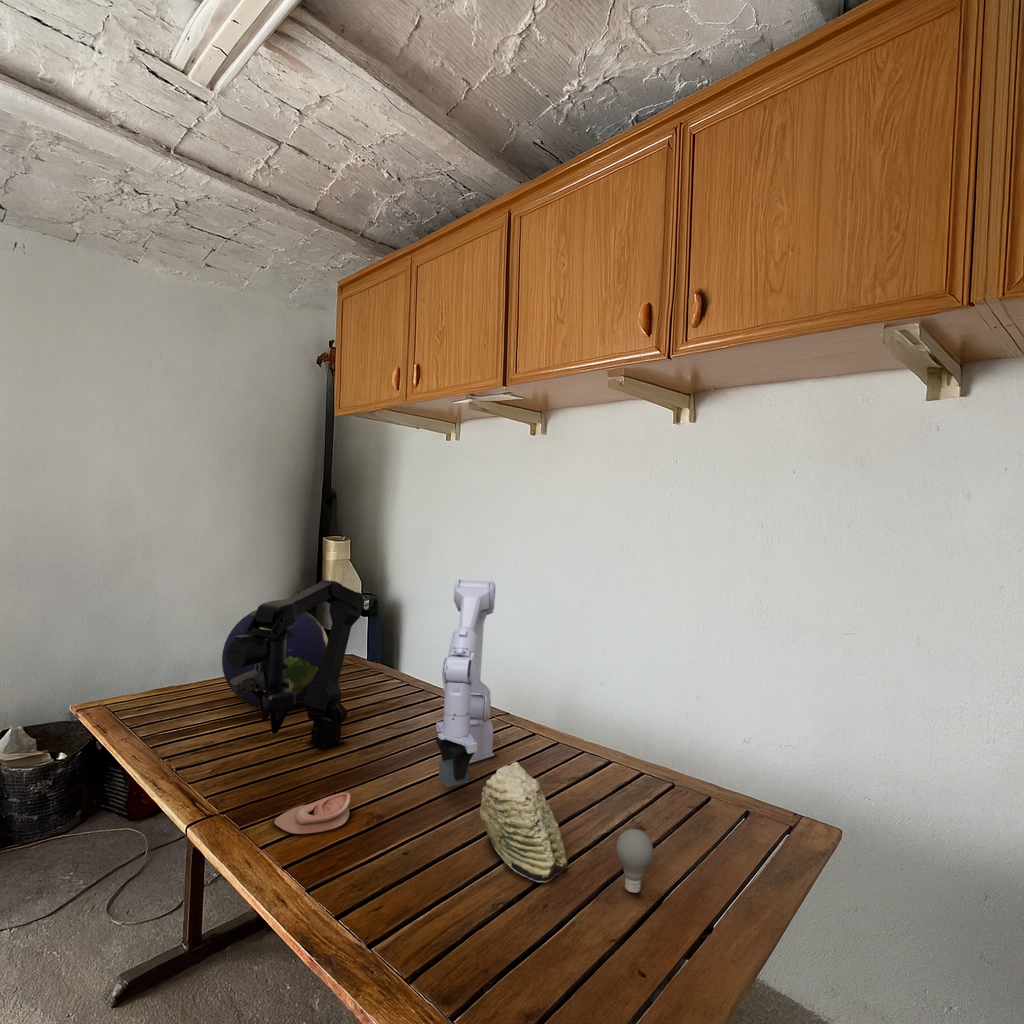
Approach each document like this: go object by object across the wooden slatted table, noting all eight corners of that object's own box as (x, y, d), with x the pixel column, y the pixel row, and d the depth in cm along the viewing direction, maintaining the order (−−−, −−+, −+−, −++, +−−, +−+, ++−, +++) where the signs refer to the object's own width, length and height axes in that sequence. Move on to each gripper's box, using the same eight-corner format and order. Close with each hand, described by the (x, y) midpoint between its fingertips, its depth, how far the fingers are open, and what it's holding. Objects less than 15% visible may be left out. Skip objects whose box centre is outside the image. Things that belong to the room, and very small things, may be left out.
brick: (438, 780, 137) (439, 761, 137) (459, 775, 140) (460, 757, 139) (447, 787, 133) (448, 768, 133) (468, 782, 136) (469, 763, 136)
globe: (289, 685, 209) (292, 594, 208) (348, 705, 191) (352, 606, 191) (199, 706, 185) (203, 604, 184) (258, 732, 167) (262, 619, 167)
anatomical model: (265, 808, 120) (298, 782, 131) (265, 829, 120) (297, 801, 131) (330, 818, 117) (357, 791, 128) (329, 840, 117) (357, 810, 128)
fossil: (501, 827, 124) (504, 751, 124) (575, 868, 111) (578, 784, 111) (467, 843, 118) (470, 763, 118) (541, 889, 105) (545, 799, 105)
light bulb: (610, 879, 108) (613, 822, 108) (644, 879, 109) (647, 822, 109) (619, 902, 102) (622, 840, 102) (655, 901, 103) (658, 840, 103)
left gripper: (226, 653, 148) (223, 719, 148) (243, 673, 132) (240, 747, 133) (275, 648, 154) (273, 712, 154) (297, 667, 139) (294, 737, 139)
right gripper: (425, 704, 140) (422, 765, 140) (457, 725, 128) (454, 792, 128) (453, 700, 144) (450, 759, 144) (486, 720, 132) (483, 784, 132)
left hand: (269, 726), depth 145 cm, fingers open, 9 cm apart
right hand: (454, 774), depth 136 cm, fingers closed on brick, 4 cm apart
